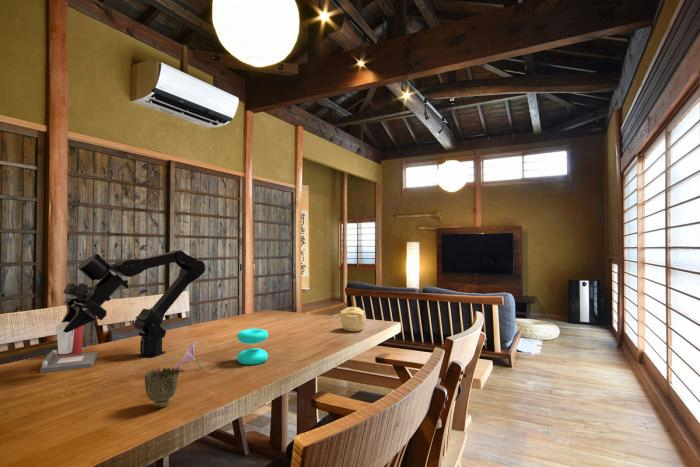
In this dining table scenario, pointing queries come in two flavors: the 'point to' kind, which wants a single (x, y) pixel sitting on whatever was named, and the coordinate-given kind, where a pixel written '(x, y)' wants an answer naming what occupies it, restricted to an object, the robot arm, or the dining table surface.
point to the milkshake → (64, 339)
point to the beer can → (76, 341)
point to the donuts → (252, 354)
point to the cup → (161, 386)
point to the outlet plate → (67, 361)
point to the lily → (189, 355)
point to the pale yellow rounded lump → (353, 319)
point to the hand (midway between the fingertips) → (61, 330)
